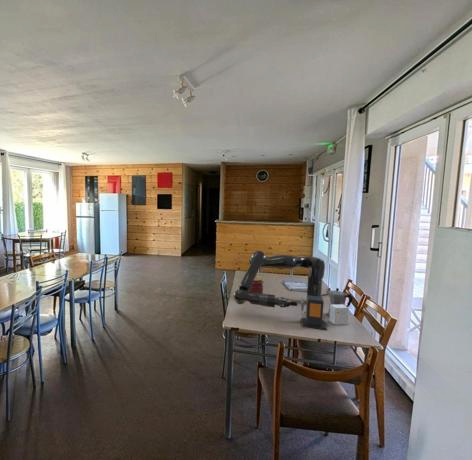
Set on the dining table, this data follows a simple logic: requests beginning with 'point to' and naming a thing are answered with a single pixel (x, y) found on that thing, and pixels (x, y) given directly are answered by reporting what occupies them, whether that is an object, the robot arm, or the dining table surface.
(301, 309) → the push plate
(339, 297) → the coffeepot
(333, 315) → the small box
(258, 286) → the kitchen canister
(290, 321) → the dining table surface
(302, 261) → the robot arm
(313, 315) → the dispenser
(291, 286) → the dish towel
